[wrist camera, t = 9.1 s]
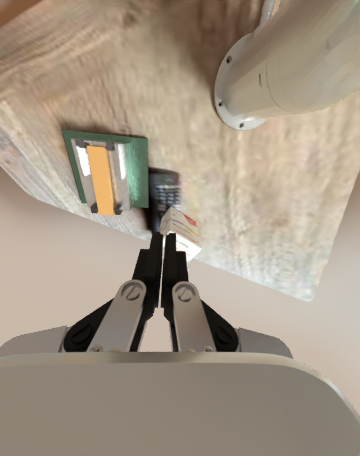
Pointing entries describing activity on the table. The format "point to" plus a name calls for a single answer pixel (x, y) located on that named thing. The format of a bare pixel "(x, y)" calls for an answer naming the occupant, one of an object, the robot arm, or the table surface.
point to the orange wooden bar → (101, 179)
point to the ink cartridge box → (181, 233)
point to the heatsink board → (136, 163)
